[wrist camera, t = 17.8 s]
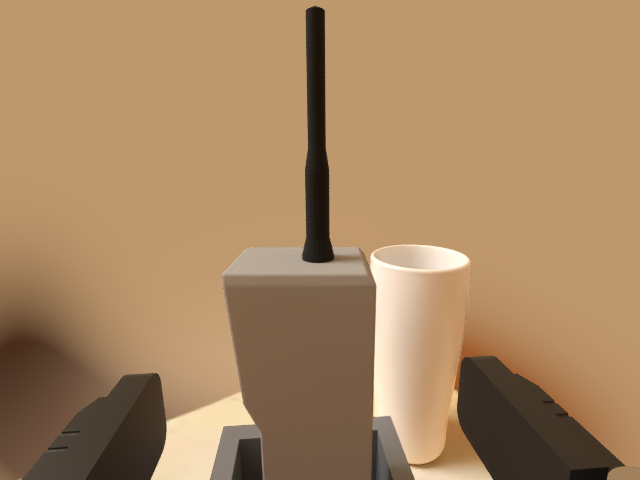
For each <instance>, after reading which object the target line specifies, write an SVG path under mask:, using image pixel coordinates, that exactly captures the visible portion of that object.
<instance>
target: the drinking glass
mask: <svg viewBox="0 0 640 480" xmlns="http://www.w3.org/2000/svg"><path fill="white" fill-rule="evenodd" d="M370 270H371V272H372V275H373V277H374V280H375V283H376V286H377V288H376V323H375V358H374V402H375V417H380V416H391V419H392V421H393V424H394V427H395V429H396V432H397V434H398V437H399V440H400V442H401V445H402V448H403V450H404V453H405V455H406V458H407V461H408V463H409V464H425V463H429V462H431V461H433V460H435V459H436V458H438V457H439V456H440V454H441V453H442V451H443V449H444V447H445V442H446V431H447V422H448V417H449V411H450V406H451V400H452V395H453V390H454V384H455V379H456V374H457V369H458V364H459V359H460V353H461V349H462V343H463V338H464V333H465V327H466V321H467V315H468V306H469V296H470V276H471V261H470V259H469V258H468V257H467V256H465V255H464V254H462V253H460V252H457V251H454V250H450V249H446V248H441V247H435V246H426V245H395V246H387V247H383V248H380V249H377V250H375V251H374V252H373V253H372V254H371V261H370Z"/></svg>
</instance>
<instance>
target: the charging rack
mask: <svg viewBox="0 0 640 480" xmlns="http://www.w3.org/2000/svg"><path fill="white" fill-rule="evenodd" d="M210 480H263V471H262V454H261V437H260V431H259V429H258V427H257V426H256V425H240V426H225V427H223V431H222V435H221V439H220V443H219V447H218V451H217V454H216V458H215V462H214V466H213V470H212V474H211V478H210ZM371 480H415V479H414V476H413V474H412V471H411V469H410V466H409V463H408V461H407V458H406V455H405V453H404V450H403V448H402V445H401V442H400V440H399V437H398V434H397V432H396V429H395V427H394V424H393V421H392V419H391V416H380V417H373V429H372V464H371Z"/></svg>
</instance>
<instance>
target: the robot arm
mask: <svg viewBox="0 0 640 480" xmlns="http://www.w3.org/2000/svg"><path fill="white" fill-rule="evenodd" d="M457 413H458V419H459V422H460V425H461V428H462V430H463V432H464V434H465V435H466V437H467V439H468V440H469V442H470V443H471V445H472V447H473V448H474V450H475V451H476V453H477V455H478V456H479V458H480V459H481V461H482V462H483V464H484V466H485V467H486V469H487V470H488V472H489V474H490V475H491V477H492V478H493V480H640V468H636V467H628V466H625V465H624V464H623V463H622V462H620V461H619V460H618V459H617V458H616V457H615V456H614V455H613V454H612V453H611V452H609V450H607V449H606V448H605V447H604V446H603V445H602V444H601V443H600V442H599V441H598V440H596V439H595V438H594V437H593V436H592V435H591V434H590V433H589V432H588V431H587V430H586V429H584V428H583V427H582V426H581V425H580V424H579V423H578V422H577V421H576V420H575V419H574V418H573V417H569V416H568V413H567V412H566V411H565V410H564V409H563V408H562V407H560V406H559V405H558V404H555V403H554V400H553V399H552V398H551V397H550V396H549V395H547V394H546V393H545V392H544V391H543V390H542V389H541V388H540V387H539V386H538V385H536V384H534V383H532V382H530V381H529V380H527V379H525V378H523V377H522V376H520V375H518V374H513V373H512V372H511V371H510V370H509V369H508V368H507V367H506V366H505V365H504V364H503V363H502V362H501V361H500V360H499V359H498V358H496V357H495V356H477V357H476V356H475V357H465V358H464V359H463V360H462V363H461V370H460V382H459V392H458V403H457ZM165 440H166V419H165V410H164V402H163V394H162V387H161V380H160V377H159V375H158V374H157V373H150V374H132V375H124V376H123V377H122V378H121V379H120V381H119V382H118V383H117V385H116V386H115V387H114V388H113V390H112V391H111V392H110V394H109V395H108V396H107V397H102V398H98V399H97V400H95V401H94V402H92V403H91V404H90V405H88V406H87V407H85V408H84V409H83V410H82V411H80V412H79V413H77V414H76V416H75V417H74V418H73V419H72V420H71V422H70V423H69V424H68V425H67V426H66V428H65V429H64V430H63V431H62V434H61V436H58V437H57V438H56V439H55V441H54V442H53V443H52V444H51V445H50V447H49V448H48V452H45V453H44V454H43V455H42V456H41V457H40V459H39V460H38V461H37V462H36V463H35V464H34V466H33V467H32V468H31V469H30V470H29V472H28V473H27V474H26V475H25V476H24V478H23V479H22V480H151V477H152V475H153V473H154V471H155V468H156V466H157V464H158V461H159V459H160V457H161V454H162V452H163V449H164V445H165Z"/></svg>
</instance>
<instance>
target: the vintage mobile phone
mask: <svg viewBox="0 0 640 480" xmlns="http://www.w3.org/2000/svg"><path fill="white" fill-rule="evenodd" d="M306 53H307V54H306V56H307V109H308V110H307V111H308V112H307V115H308V153H307V160H306V167H305V188H306V189H305V190H306V241H305V245H304V247H270V248H268V247H263V248H262V247H254V248H246V249H245V250H244V251H243V252H242V253H241V255H240V256H239V257H238V258H237V259H236V260H235V261H234V262H233V263H232V265H231V266H230V267H229V268H228V269H227V270H226V271H225V272H224V273H223V274H222V281H223V289H224V295H225V300H226V306H227V312H228V318H229V323H230V329H231V335H232V341H233V347H234V352H235V358H236V363H237V369H238V375H239V381H240V386H241V393H242V398H243V404H244V406H245V408H246V409H247V411H248V413H249V414H250V416H251V417H252V419H253V421H254V422H255V424H256V426H257V427H258V429H259V431H260V437H261V454H262V471H263V480H371V464H372V429H373V393H374V358H375V323H376V288H377V286H376V283H375V280H374V277H373V275H372V272H371V270H370V267H369V264H368V262H367V259H366V257H365V254H364V253H363V252H362V251H361V249H360V248H358V247H332V245H331V241H330V238H329V166H328V160H327V154H326V146H325V145H326V143H325V142H326V139H325V10H323V9H322V8H320V7H316V6H313V7H311V8H308V9H307V10H306Z"/></svg>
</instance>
